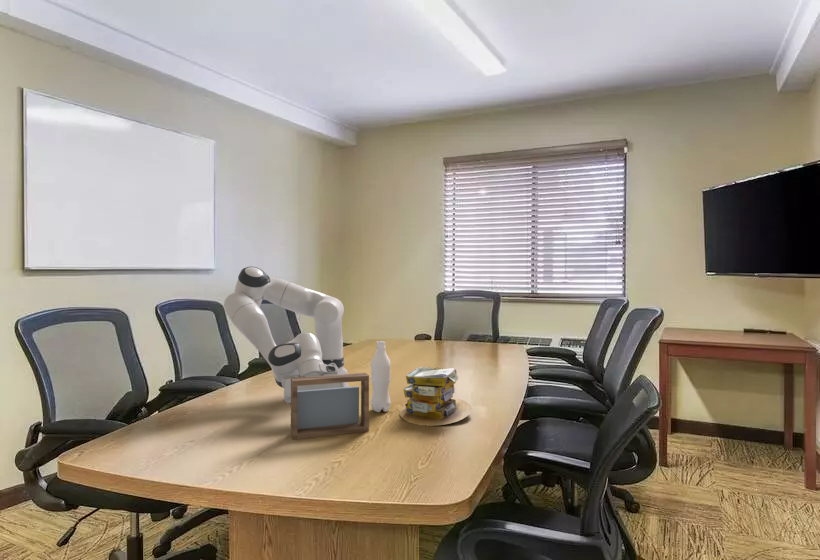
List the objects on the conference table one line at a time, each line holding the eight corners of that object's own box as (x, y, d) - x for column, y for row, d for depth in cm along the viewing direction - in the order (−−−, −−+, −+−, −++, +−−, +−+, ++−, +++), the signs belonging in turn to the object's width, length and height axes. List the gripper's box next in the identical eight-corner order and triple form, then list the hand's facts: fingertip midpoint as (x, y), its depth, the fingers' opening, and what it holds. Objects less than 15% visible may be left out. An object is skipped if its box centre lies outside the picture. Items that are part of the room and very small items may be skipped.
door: (295, 429, 157) (295, 391, 157) (357, 422, 164) (357, 386, 164) (296, 430, 155) (296, 392, 155) (358, 424, 162) (359, 387, 162)
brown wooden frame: (290, 434, 155) (290, 377, 154) (365, 426, 163) (365, 372, 162) (292, 439, 150) (292, 380, 150) (368, 430, 159) (368, 375, 158)
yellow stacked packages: (440, 431, 159) (441, 378, 158) (385, 415, 175) (385, 368, 175) (484, 415, 177) (485, 367, 177) (430, 402, 194) (431, 359, 193)
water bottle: (393, 408, 184) (393, 340, 183) (386, 414, 177) (386, 343, 177) (375, 407, 186) (375, 339, 186) (367, 412, 179) (367, 342, 179)
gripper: (281, 371, 165) (285, 408, 156) (342, 366, 173) (349, 402, 164) (280, 381, 170) (283, 418, 161) (339, 377, 177) (346, 412, 168)
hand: (317, 410), depth 162 cm, fingers closed
